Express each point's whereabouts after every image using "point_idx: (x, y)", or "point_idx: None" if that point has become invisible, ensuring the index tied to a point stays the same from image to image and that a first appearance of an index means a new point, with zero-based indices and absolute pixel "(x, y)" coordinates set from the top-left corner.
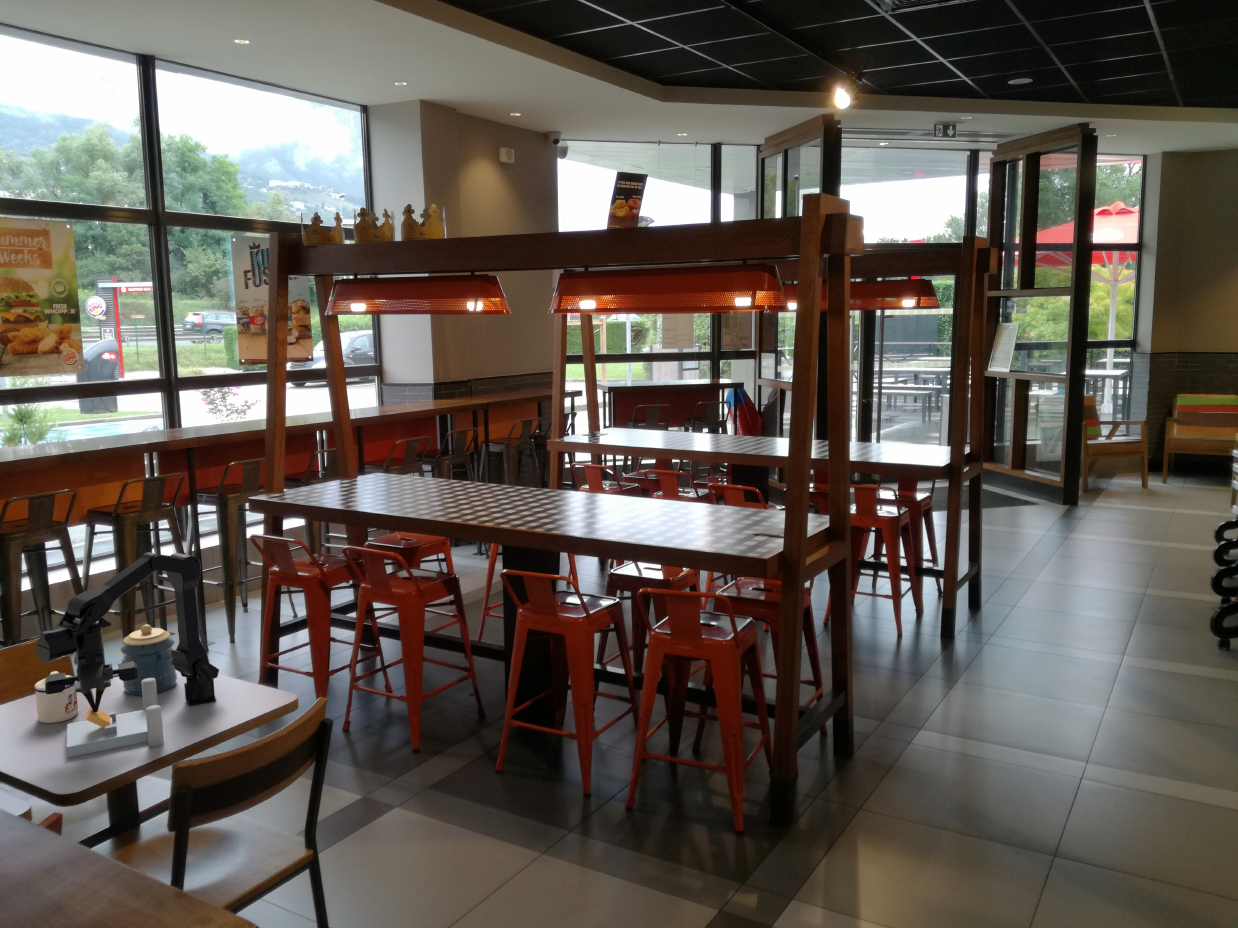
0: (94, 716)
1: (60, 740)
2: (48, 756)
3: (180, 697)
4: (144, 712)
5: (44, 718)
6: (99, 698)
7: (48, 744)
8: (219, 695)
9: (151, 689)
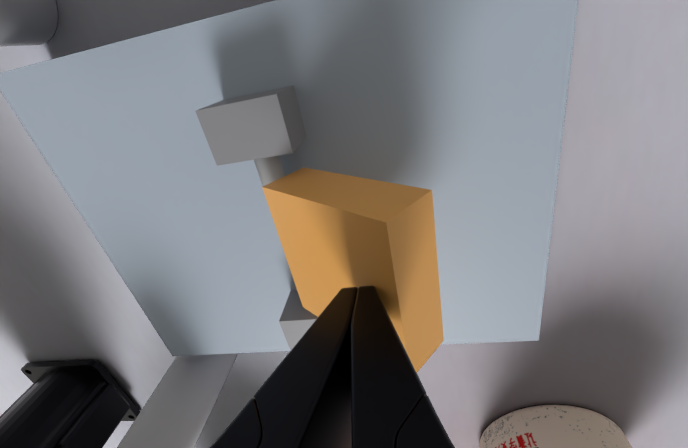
0: (357, 209)
1: (561, 240)
2: (666, 18)
3: None
4: (183, 327)
5: (616, 434)
6: (264, 407)
7: (628, 213)
8: None
9: None
